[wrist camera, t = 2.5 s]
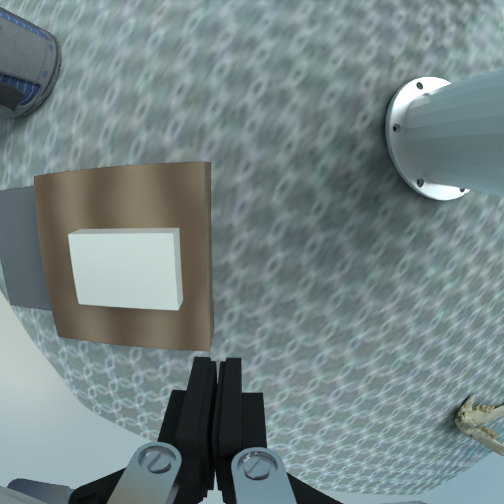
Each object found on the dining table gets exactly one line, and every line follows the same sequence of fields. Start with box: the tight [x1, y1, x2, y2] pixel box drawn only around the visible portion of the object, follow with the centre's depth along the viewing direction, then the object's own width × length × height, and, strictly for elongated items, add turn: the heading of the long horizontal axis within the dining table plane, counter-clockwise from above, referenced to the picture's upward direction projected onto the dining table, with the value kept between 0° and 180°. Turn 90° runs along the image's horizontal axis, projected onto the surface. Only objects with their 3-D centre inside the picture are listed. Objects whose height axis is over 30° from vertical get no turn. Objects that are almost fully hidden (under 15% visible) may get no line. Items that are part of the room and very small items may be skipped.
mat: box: [0, 186, 52, 310], centre depth 28 cm, size 10×14×1 cm
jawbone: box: [454, 394, 504, 456], centre depth 32 cm, size 25×18×10 cm
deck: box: [34, 162, 214, 351], centre depth 26 cm, size 16×16×4 cm
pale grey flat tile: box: [68, 228, 183, 310], centre depth 23 cm, size 9×6×2 cm, turn 89°
